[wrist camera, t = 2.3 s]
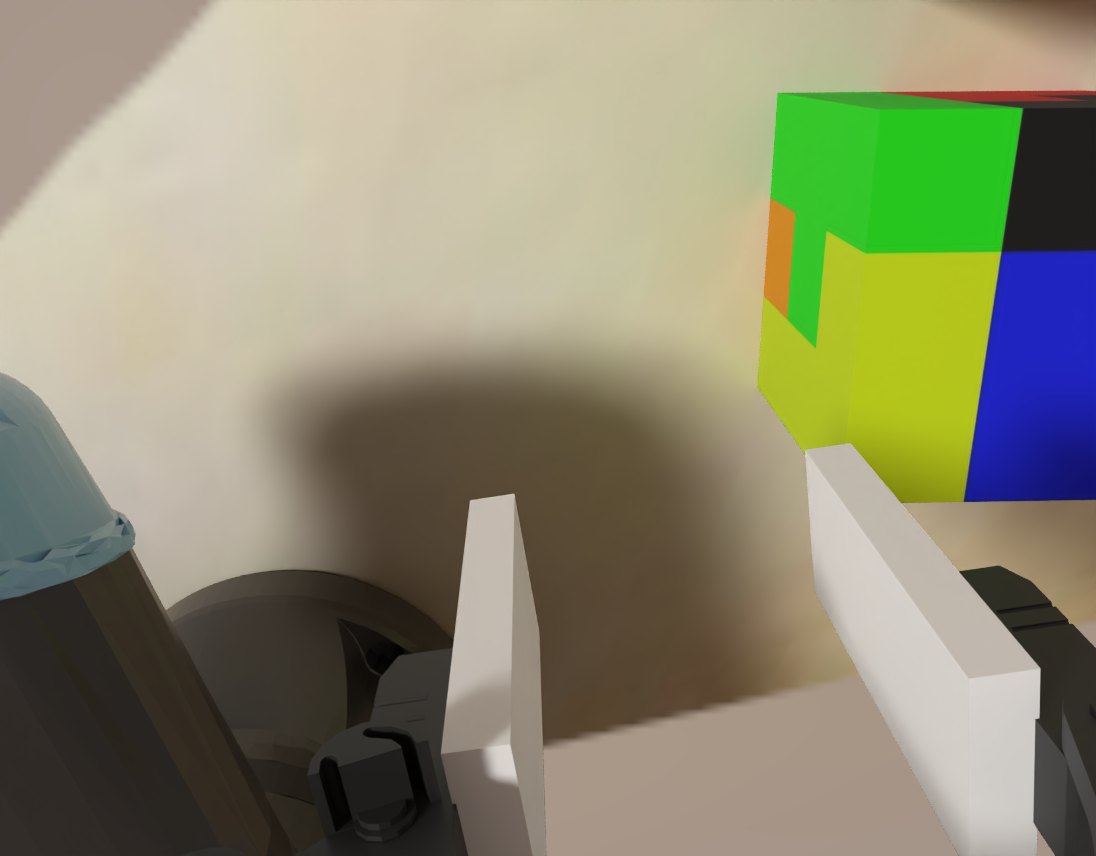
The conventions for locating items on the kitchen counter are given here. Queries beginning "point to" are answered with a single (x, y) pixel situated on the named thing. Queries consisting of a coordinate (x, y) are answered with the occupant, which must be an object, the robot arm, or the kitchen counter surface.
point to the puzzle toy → (937, 288)
